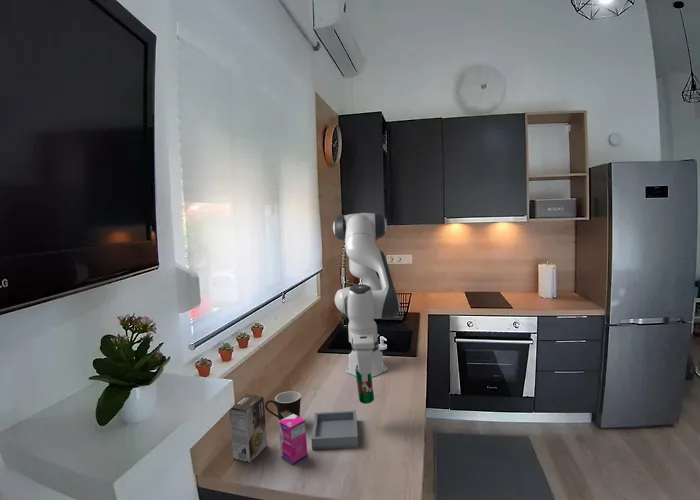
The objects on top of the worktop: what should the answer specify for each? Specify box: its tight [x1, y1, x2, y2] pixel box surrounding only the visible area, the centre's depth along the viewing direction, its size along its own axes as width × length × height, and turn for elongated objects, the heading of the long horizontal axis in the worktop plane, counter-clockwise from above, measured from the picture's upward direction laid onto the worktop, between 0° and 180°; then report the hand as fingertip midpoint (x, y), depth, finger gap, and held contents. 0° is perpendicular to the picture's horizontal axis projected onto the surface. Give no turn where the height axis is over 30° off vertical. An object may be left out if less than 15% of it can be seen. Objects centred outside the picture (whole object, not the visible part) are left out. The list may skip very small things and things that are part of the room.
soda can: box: [355, 365, 375, 405], centre depth 131 cm, size 5×5×12 cm
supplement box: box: [278, 414, 309, 465], centre depth 117 cm, size 6×6×12 cm
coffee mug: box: [264, 390, 302, 422], centre depth 136 cm, size 12×9×10 cm
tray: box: [311, 410, 359, 451], centre depth 129 cm, size 16×14×4 cm
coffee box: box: [229, 393, 268, 463], centre depth 121 cm, size 9×6×16 cm
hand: (364, 376), depth 131 cm, fingers closed on soda can, 5 cm apart
